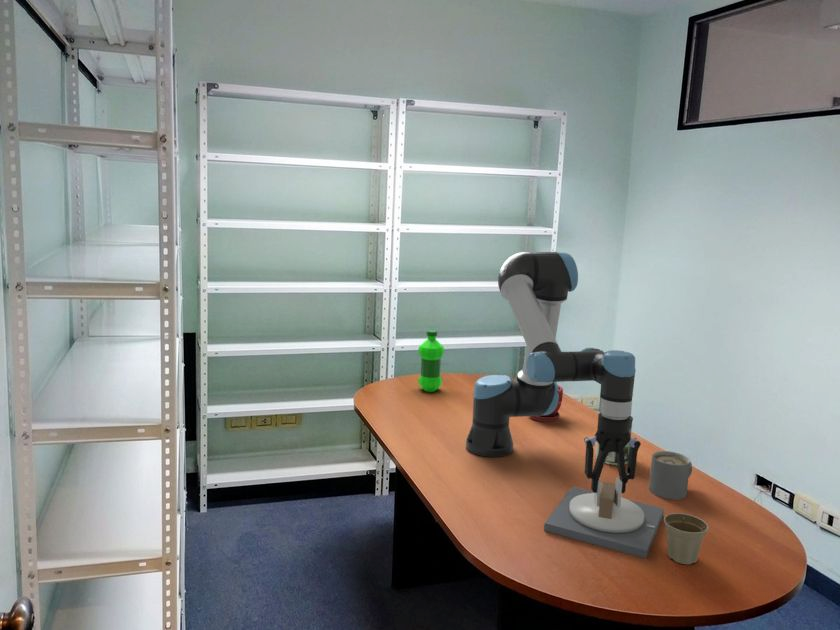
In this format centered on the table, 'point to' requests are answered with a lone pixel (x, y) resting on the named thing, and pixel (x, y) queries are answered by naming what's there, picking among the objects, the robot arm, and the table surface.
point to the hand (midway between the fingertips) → (606, 504)
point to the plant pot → (554, 414)
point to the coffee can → (612, 455)
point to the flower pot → (684, 536)
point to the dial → (606, 512)
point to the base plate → (623, 542)
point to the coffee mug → (669, 475)
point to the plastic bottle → (430, 362)
